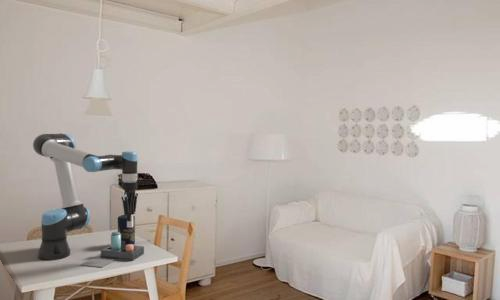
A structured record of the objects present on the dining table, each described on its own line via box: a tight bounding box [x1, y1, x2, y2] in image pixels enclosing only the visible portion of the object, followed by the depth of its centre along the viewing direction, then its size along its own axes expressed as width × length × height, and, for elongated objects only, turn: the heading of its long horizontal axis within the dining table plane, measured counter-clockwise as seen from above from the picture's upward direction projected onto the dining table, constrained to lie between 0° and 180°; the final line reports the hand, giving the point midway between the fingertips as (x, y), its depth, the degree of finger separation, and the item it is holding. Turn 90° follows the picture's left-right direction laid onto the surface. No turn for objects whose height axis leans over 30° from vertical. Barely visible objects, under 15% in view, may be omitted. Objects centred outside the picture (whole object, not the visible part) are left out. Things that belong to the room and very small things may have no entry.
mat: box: [79, 256, 117, 268], centre depth 201 cm, size 12×12×1 cm
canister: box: [117, 214, 136, 246], centre depth 231 cm, size 10×10×18 cm
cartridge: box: [110, 231, 121, 250], centre depth 213 cm, size 5×5×12 cm
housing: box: [100, 244, 145, 262], centre depth 212 cm, size 18×12×4 cm, turn 78°
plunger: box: [126, 244, 135, 252], centre depth 209 cm, size 4×4×4 cm
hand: (130, 227), depth 208 cm, fingers closed
